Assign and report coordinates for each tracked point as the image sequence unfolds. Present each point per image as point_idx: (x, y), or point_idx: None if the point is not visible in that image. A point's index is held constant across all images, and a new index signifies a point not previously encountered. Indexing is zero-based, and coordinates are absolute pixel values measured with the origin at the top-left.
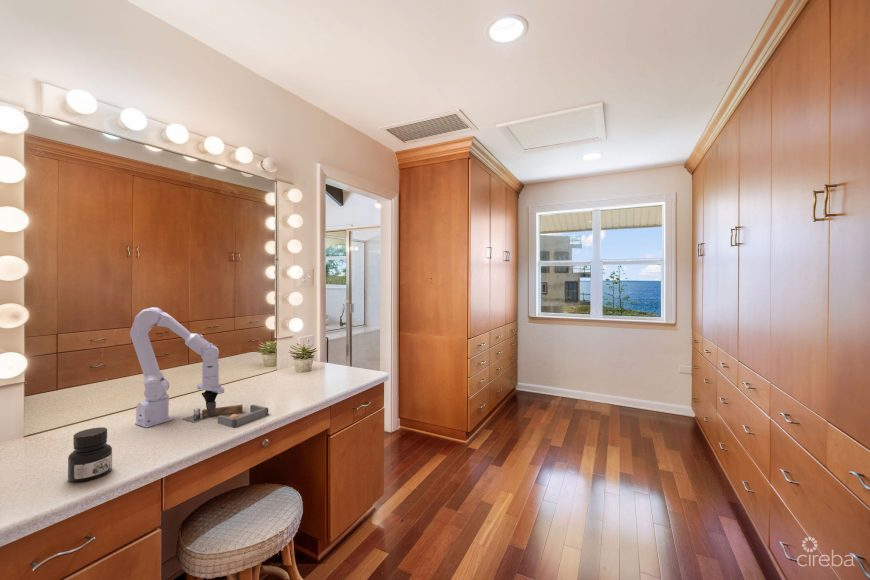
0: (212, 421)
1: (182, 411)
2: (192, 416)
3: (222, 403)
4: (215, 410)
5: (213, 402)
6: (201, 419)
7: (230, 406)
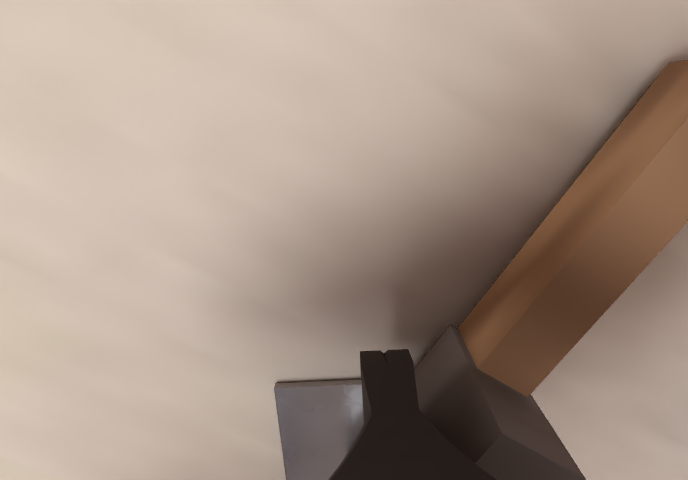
0: (601, 429)
1: (44, 429)
2: (312, 468)
3: (71, 17)
4: (530, 394)
5: (515, 476)
6: None
7: (623, 227)
